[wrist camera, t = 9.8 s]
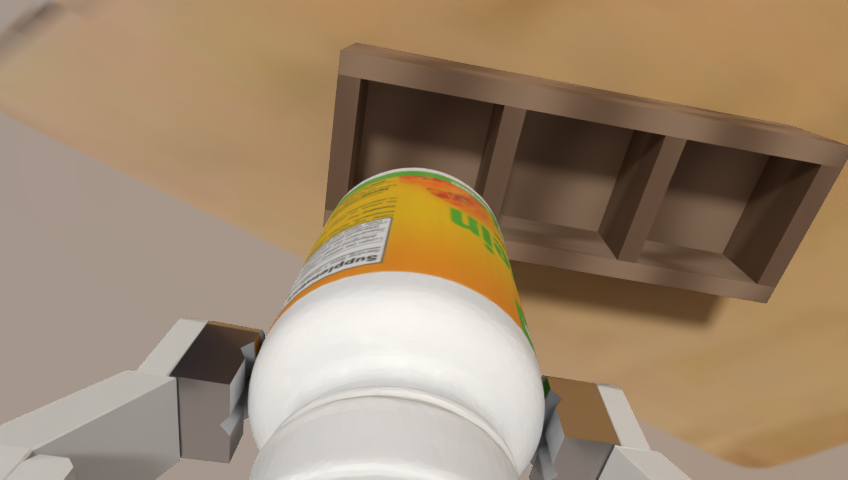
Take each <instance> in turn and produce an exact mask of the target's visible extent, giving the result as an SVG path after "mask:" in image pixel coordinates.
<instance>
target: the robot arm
mask: <svg viewBox="0 0 848 480" xmlns="http://www.w3.org/2000/svg"><path fill="white" fill-rule="evenodd" d="M264 340H265V334H264V332H263V330H259V329H253V328H248V327H243V326H237V325H232V324H226V323H221V322H216V321H209V320H203V319H197V318H191V317H183V318H181V319H179V320H178V321H177V322H176V323H175V325H174V326H173V327H172V328H171V329H170V331H169V332H168V333H167V334H166V335H165V336H164V338H163V339H162V340H161V341H160V342H159V344H158V345H157V346H156V347H155V349H154V350H153V351H152V352H151V353H150V354H149V356H148V357H147V358H146V359H145V360H144V362H143V363H142V364H141V365H140V367H139V368H138V369H137V370H136V371H129V370H126V371H124V372H122V373H119V374H117V375H115V376H112V377H110V378H108V379H106V380H103V381H101V382H99V383H97V384H94V385H92V386H89V387H87V388H85V389H83V390H80V391H78V392H76V393H73V394H71V395H69V396H67V397H64V398H62V399H60V400H57V401H55V402H53V403H50V404H48V405H46V406H43V407H41V408H39V409H37V410H34V411H32V412H30V413H27V414H25V415H23V416H20V417H18V418H16V419H14V420H11V421H9V422H7V423H4V424H2V425H0V480H155V479H156V478H158V477H159V476H160V475H161V474H163V473H164V472H166V471H167V470H168V469H170V468H171V467H172V466H174V465H175V464H176V463H177V462H179V461H180V458H189V459H196V460H205V461H213V462H222V463H230V461H231V459H232V456H233V454H234V452H235V450H236V448H237V446H238V444H239V441H240V439H241V437H242V435H243V423H244V419H246V418H248V417H249V416H248V389H249V381H250V377H251V373H252V369H253V366H254V363H255V361H256V358H257V356H258V354H259V351H260V349H261V346H262V344H263V342H264ZM541 379H542V384H543V390H544V399H545V415H544V423H543V430H542V434H541V438H540V441H539V444H538V447H537V449H536V451H535V453H534V456H533V458H532V460H531V461H530V462H531V464H532V465H533V467H532V470H531V473H530V476H529V478H530V480H691V479H690V478H689V477H688V476H687V475H685V474H684V473H683V472H682V471H681V470H680V469H678V468H677V467H676V466H675V465H674V464H672V463H671V462H670V461H669V460H668V459H667V458H665V457H664V456H663V455H662V454H661V453H660V452H655V451H651V449H650V447H649V445H648V443H647V441H646V439H645V437H644V435H643V432H642V430H641V428H640V426H639V424H638V422H637V420H636V418H635V416H634V414H633V412H632V410H631V408H630V406H629V404H628V402H627V399H626V397H625V395H624V393H623V391H622V389H621V388H619V387H618V386H617V385H610V384H602V383H595V382H592V383H589V382H583V381H576V380H570V379H563V378H557V377H550V376H544V375H542V377H541Z"/></svg>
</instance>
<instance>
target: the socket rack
mask: <svg viewBox="0 0 848 480" xmlns="http://www.w3.org/2000/svg"><path fill="white" fill-rule="evenodd" d="M847 159H848V145H845V144H842V143H839V142H837V141H834V140H831V139H828V138H825V137H822V136H819V135H816V134H813V133H810V132H807V131H805V130H802V129H799V128H796V127H793V126H789V125H784V124H779V123H774V122H768V121H763V120H758V119H753V118H747V117H742V116H737V115H732V114H726V113H721V112H716V111H711V110H705V109H700V108H695V107H690V106H684V105H679V104H674V103H669V102H663V101H658V100H653V99H648V98H642V97H637V96H632V95H627V94H621V93H616V92H611V91H606V90H600V89H595V88H590V87H585V86H579V85H574V84H569V83H564V82H558V81H553V80H548V79H543V78H537V77H532V76H527V75H522V74H516V73H511V72H506V71H501V70H495V69H490V68H485V67H480V66H474V65H469V64H464V63H459V62H453V61H448V60H443V59H438V58H432V57H427V56H422V55H417V54H411V53H406V52H401V51H396V50H390V49H385V48H380V47H375V46H369V45H364V44H359V43H355V44H353V45H351V46H348V47H346V48H344V49H342V50H340V59H339V70H338V80H337V90H336V100H335V111H334V121H333V131H332V142H331V152H330V162H329V172H328V183H327V193H326V203H325V213H324V224H323V228H324V226H325V224H326V223H327V221H328V219H329V217H330V216H331V214H332V213H333V211H334V209H335V208H336V206H337V205H338V204H339V202H340V201H341V200H342V198H343V197H344V196H345V195H346V194H347V193H348V192H349V191H350V190H352V189H353V188H354V187H355V186H357V185H358V184H360V183H361V182H363V181H364V180H366V179H368V178H370V177H372V176H375V175H377V174H380V173H383V172H386V171H390V170H394V169H400V168H426V169H431V170H436V171H439V172H443V173H445V174H448V175H451V176H453V177H455V178H457V179H459V180H460V181H462V182H464V183H465V184H467V185H468V186H470V187H471V188H472V189H473V190H474V191H476V192H477V193H478V194H479V195H480V196H481V197H482V198H483V199H484V201H485V202H486V203H487V204H488V206H489V207H490V209H491V210H492V212H493V214H494V216H495V218H496V220H497V222H498V225H499V227H500V230H501V233H502V236H503V239H504V243H505V247H506V251H507V254H508V258H509V260H515V261H521V262H527V263H532V264H538V265H544V266H550V267H556V268H562V269H568V270H573V271H579V272H585V273H591V274H597V275H603V276H609V277H614V278H620V279H626V280H632V281H638V282H644V283H650V284H655V285H661V286H667V287H673V288H679V289H685V290H691V291H696V292H702V293H708V294H714V295H720V296H726V297H731V298H737V299H743V300H749V301H755V302H761V303H767V302H768V300H769V298H770V296H771V295H772V293H773V291H774V289H775V287H776V286H777V284H778V282H779V280H780V279H781V277H782V275H783V273H784V271H785V270H786V268H787V266H788V264H789V263H790V261H791V259H792V257H793V255H794V254H795V252H796V250H797V248H798V247H799V245H800V243H801V241H802V239H803V238H804V236H805V234H806V232H807V231H808V229H809V227H810V225H811V223H812V222H813V220H814V218H815V216H816V215H817V213H818V211H819V209H820V207H821V206H822V204H823V202H824V200H825V198H826V197H827V195H828V193H829V191H830V190H831V188H832V186H833V184H834V182H835V181H836V179H837V177H838V175H839V174H840V172H841V170H842V168H843V166H844V165H845V163H846V161H847Z"/></svg>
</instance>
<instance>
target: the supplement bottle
mask: <svg viewBox="0 0 848 480" xmlns="http://www.w3.org/2000/svg"><path fill="white" fill-rule="evenodd" d="M544 415H545V399H544V390H543V384H542V379H541V375H540V370H539V366H538V362H537V358H536V354H535V351H534V348H533V345H532V341H531V338H530V334H529V331H528V327H527V323H526V320H525V316H524V312H523V309H522V305H521V302H520V299H519V295H518V291H517V288H516V284H515V281H514V277H513V273H512V269H511V265H510V262H509V258H508V254H507V251H506V247H505V243H504V239H503V236H502V233H501V230H500V227H499V225H498V222H497V220H496V218H495V216H494V214H493V212H492V210H491V209H490V207H489V206H488V204H487V203H486V202H485V201H484V199H483V198H482V197H481V196H480V195H479V194H478V193H477V192H476V191H474V190H473V189H472V188H471V187H470V186H468V185H467V184H465V183H464V182H462V181H460V180H459V179H457V178H455V177H453V176H451V175H448V174H445V173H443V172H439V171H436V170H431V169H426V168H400V169H394V170H390V171H386V172H383V173H380V174H377V175H375V176H372V177H370V178H368V179H366V180H364V181H363V182H361V183H360V184H358V185H357V186H355V187H354V188H353V189H352V190H350V191H349V192H348V193H347V194H346V195H345V196H344V197H343V198H342V200H341V201H340V202H339V204H338V205H337V206H336V208H335V209H334V211H333V213H332V214H331V216H330V217H329V219H328V221H327V223H326V224H325V226H324V228H323V230H322V232H321V234H320V236H319V237H318V239H317V241H316V243H315V245H314V247H313V249H312V251H311V252H310V254H309V256H308V258H307V260H306V262H305V264H304V266H303V268H302V270H301V272H300V274H299V275H298V277H297V279H296V282H295V283H294V285H293V287H292V289H291V291H290V293H289V295H288V297H287V299H286V300H285V302H284V304H283V306H282V308H281V310H280V312H279V314H278V315H277V317H276V319H275V321H274V323H273V325H272V327H271V328H270V330H269V332H268V334H267V336H266V338H265V340H264V342H263V344H262V346H261V349H260V351H259V354H258V356H257V358H256V361H255V363H254V366H253V369H252V373H251V377H250V381H249V389H248V416H249V421H250V426H251V431H252V434H253V437H254V439H255V442H256V445H257V447H258V449H259V451H260V453H259V455H258V456H257V458H256V460H255V463H254V465H253V467H252V471H251V474H250V479H249V480H519V478H520V476H521V475H522V474H523V472H524V471H525V470H526V468H527V467H528V465H529V463H530V461H531V460H532V458H533V456H534V453H535V451H536V449H537V447H538V444H539V441H540V438H541V434H542V430H543V423H544Z"/></svg>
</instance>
